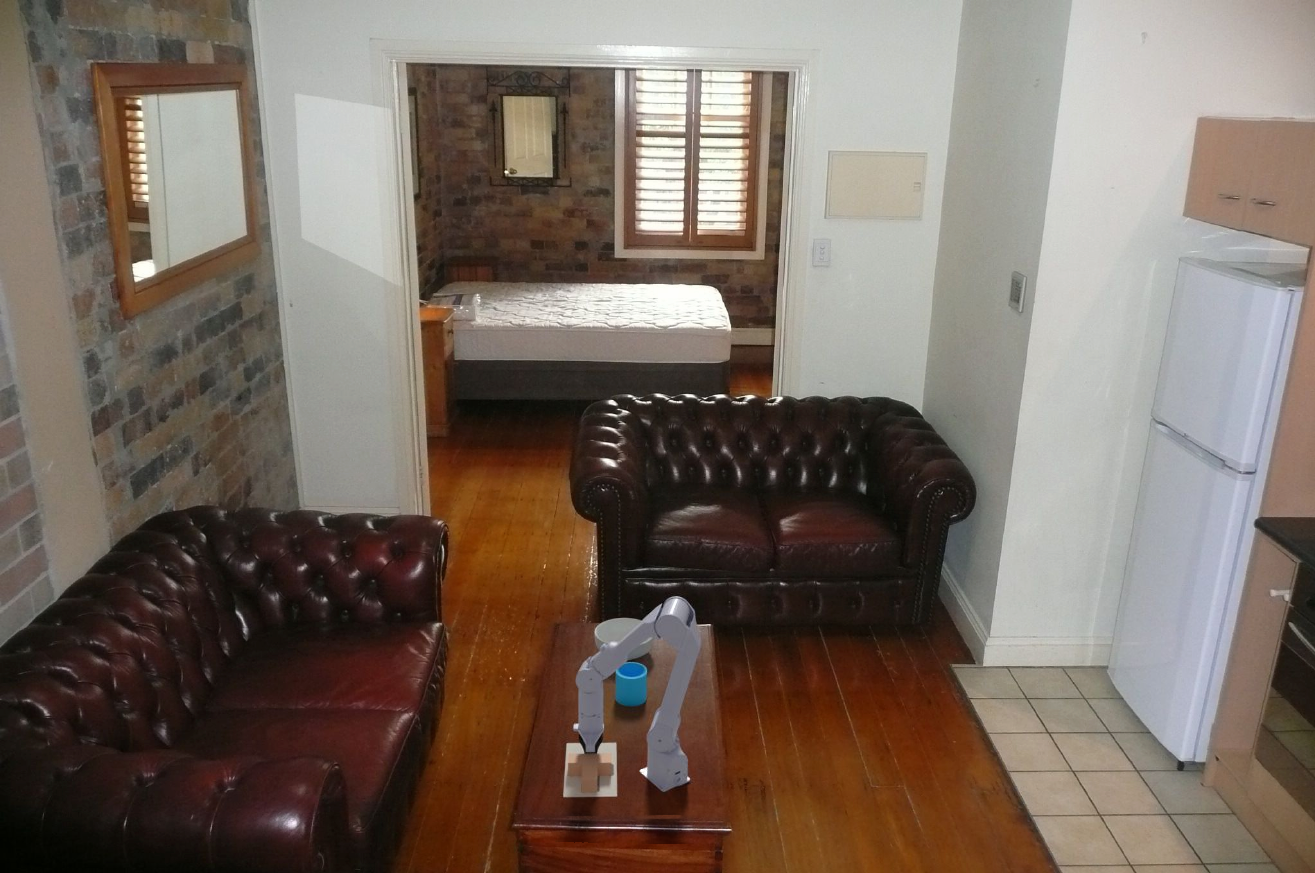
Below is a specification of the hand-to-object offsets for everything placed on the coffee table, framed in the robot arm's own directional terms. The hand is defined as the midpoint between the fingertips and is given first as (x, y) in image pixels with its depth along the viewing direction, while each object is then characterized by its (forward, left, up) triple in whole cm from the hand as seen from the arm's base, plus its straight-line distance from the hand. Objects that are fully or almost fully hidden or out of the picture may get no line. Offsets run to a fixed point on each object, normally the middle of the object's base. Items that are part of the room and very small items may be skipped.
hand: (590, 759), depth 240 cm
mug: (+19, -26, -2) cm, 32 cm away
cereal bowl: (+37, -36, -2) cm, 51 cm away
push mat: (-2, +1, -1) cm, 3 cm away
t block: (-5, +4, -1) cm, 6 cm away
